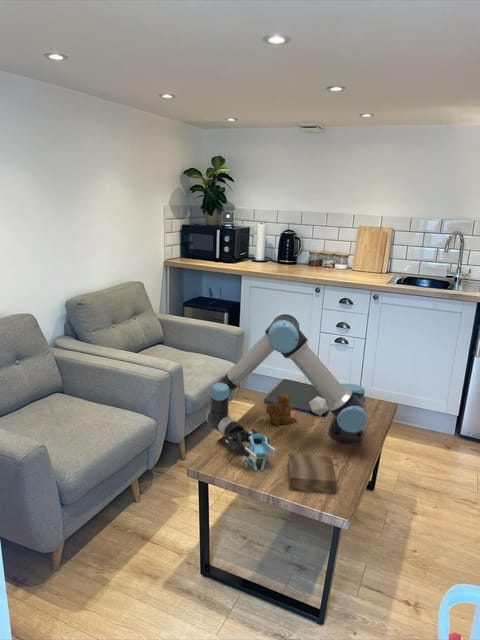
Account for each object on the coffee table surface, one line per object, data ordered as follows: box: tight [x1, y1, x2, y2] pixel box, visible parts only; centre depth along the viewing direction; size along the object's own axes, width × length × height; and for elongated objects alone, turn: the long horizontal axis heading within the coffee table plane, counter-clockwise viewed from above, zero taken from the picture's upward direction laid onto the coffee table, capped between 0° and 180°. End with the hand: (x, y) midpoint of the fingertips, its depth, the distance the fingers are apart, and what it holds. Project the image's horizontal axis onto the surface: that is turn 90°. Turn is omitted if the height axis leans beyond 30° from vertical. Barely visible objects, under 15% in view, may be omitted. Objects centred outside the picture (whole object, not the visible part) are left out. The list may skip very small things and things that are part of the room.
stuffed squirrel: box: [265, 392, 298, 427], centre depth 212 cm, size 10×14×13 cm
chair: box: [244, 433, 269, 472], centre depth 176 cm, size 8×8×12 cm
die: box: [308, 395, 330, 417], centre depth 223 cm, size 8×9×10 cm
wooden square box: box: [287, 453, 338, 495], centre depth 169 cm, size 16×16×5 cm
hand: (265, 455), depth 172 cm, fingers closed on chair, 8 cm apart
